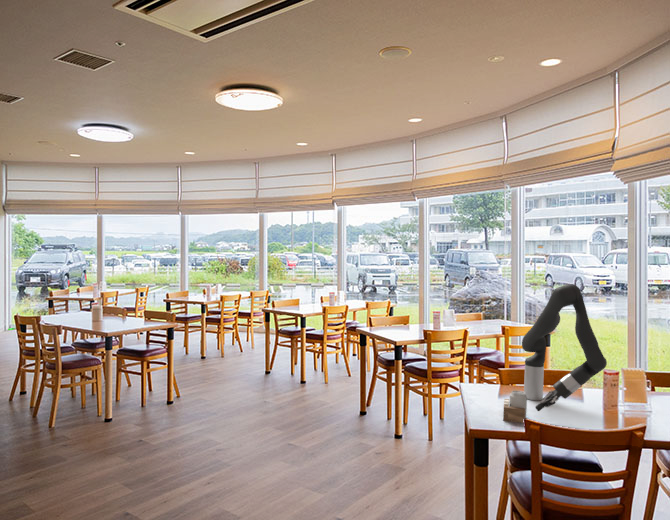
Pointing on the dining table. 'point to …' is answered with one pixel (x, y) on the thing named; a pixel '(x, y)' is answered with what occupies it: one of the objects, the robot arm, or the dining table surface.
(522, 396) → the can
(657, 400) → the dining table surface
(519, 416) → the corner stop
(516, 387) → the dining table surface
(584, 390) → the dining table surface
